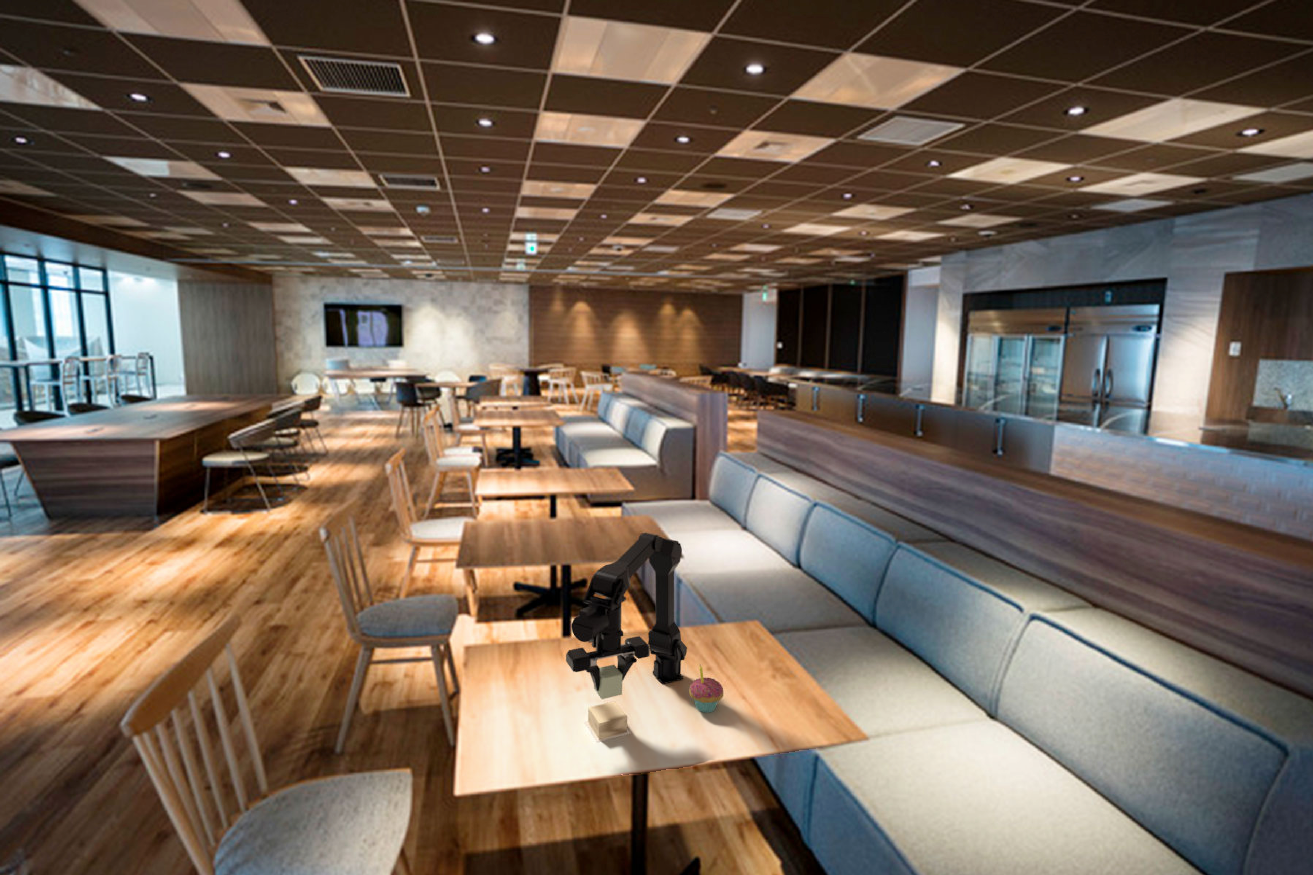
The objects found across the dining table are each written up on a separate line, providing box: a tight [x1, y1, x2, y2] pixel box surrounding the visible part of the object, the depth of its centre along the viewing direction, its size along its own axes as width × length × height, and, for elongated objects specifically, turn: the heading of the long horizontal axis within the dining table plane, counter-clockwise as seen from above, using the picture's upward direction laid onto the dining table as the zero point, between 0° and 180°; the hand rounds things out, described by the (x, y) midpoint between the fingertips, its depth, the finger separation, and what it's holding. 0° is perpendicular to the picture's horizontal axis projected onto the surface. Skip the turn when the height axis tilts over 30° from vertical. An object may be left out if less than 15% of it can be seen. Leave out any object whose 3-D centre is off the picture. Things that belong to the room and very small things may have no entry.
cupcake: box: [688, 663, 724, 713], centre depth 165 cm, size 9×8×12 cm
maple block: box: [587, 700, 628, 739], centre depth 155 cm, size 7×7×4 cm
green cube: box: [593, 664, 623, 700], centre depth 154 cm, size 5×5×5 cm
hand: (607, 687), depth 154 cm, fingers closed on green cube, 5 cm apart
